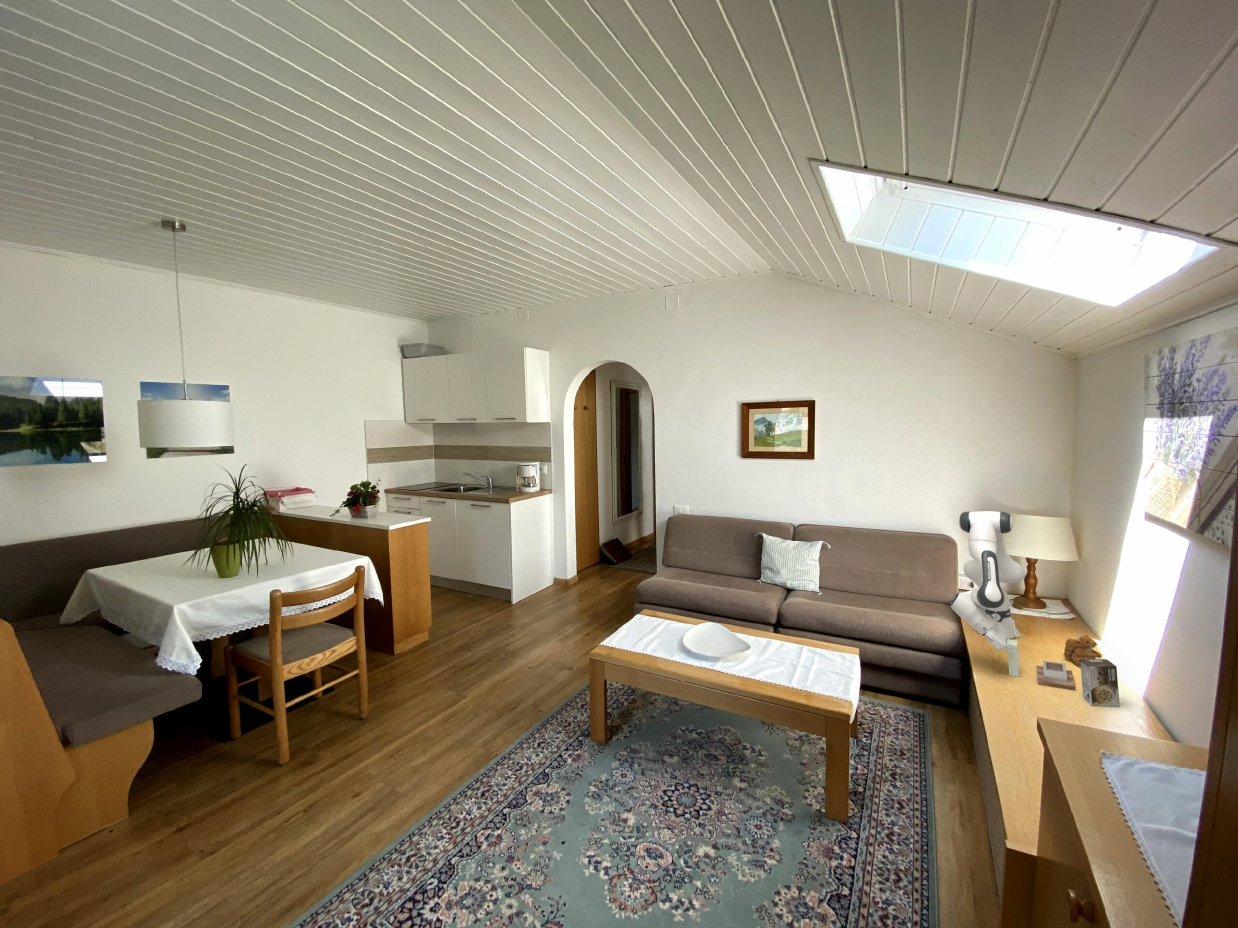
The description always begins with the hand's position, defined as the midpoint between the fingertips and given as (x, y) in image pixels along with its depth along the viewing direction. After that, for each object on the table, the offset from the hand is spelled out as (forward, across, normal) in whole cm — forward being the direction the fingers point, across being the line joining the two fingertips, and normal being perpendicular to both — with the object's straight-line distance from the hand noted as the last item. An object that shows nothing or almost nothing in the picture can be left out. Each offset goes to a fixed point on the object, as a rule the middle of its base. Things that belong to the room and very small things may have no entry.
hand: (1013, 649), depth 231 cm
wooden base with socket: (+18, 0, -2) cm, 18 cm away
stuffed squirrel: (+25, +22, -9) cm, 34 cm away
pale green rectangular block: (+8, 0, +8) cm, 11 cm away
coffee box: (+27, -15, -11) cm, 33 cm away
